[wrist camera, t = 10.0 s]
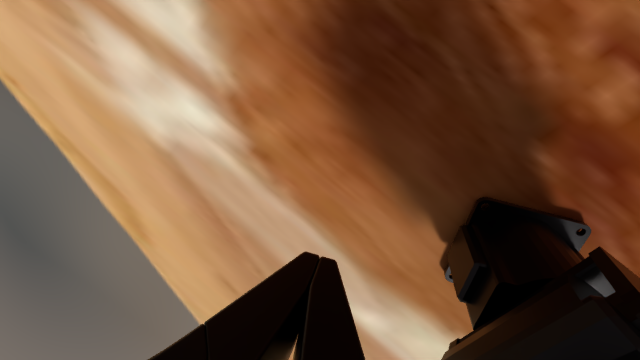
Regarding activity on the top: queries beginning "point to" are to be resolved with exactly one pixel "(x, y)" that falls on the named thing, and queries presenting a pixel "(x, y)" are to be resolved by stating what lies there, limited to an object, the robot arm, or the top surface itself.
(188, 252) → the top surface
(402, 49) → the top surface
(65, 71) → the top surface
